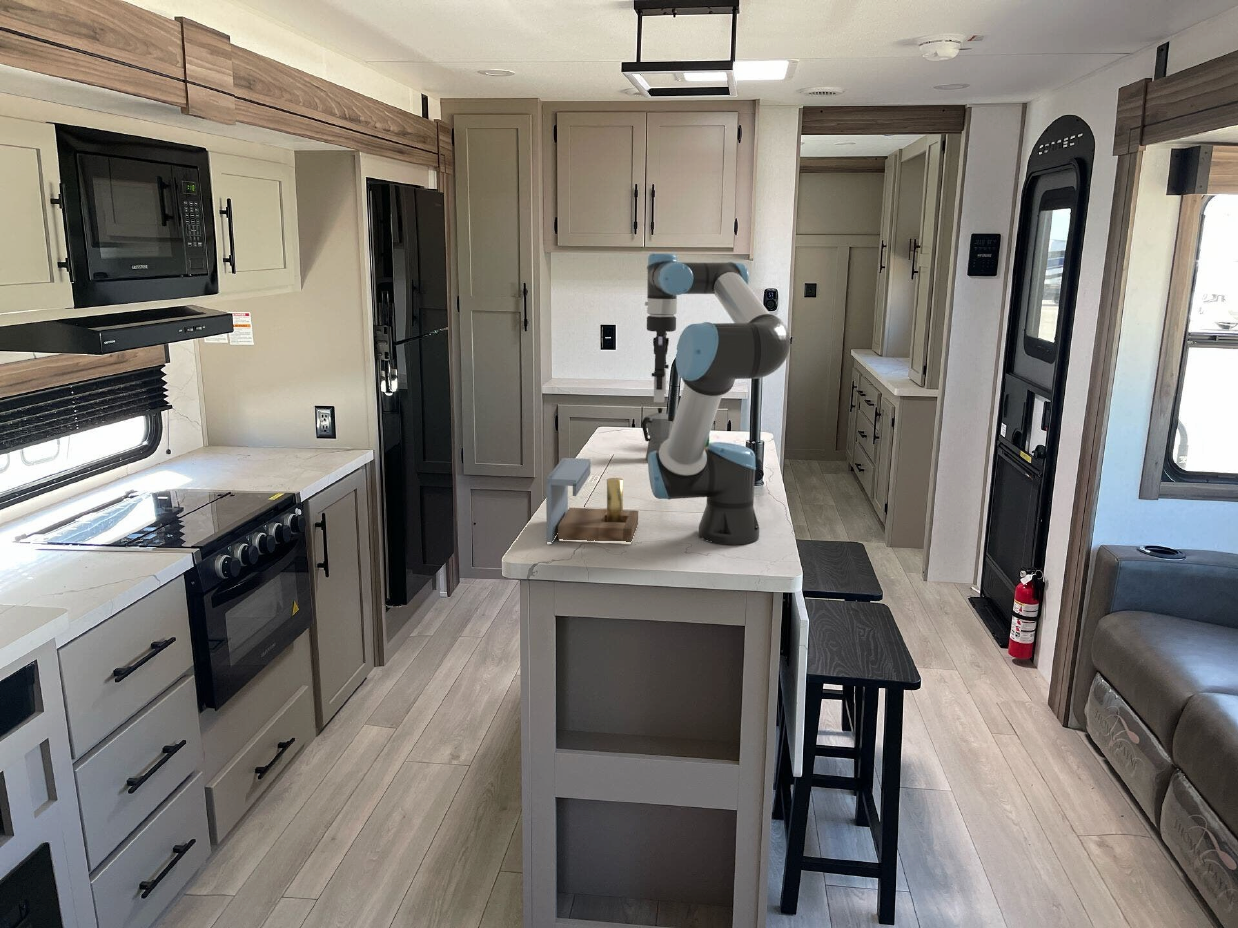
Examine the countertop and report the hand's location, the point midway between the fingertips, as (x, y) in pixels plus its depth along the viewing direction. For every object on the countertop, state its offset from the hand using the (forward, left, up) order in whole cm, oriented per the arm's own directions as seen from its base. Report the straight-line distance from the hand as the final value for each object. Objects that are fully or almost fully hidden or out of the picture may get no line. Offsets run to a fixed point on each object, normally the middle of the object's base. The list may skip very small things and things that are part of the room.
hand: (659, 397), depth 238 cm
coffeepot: (+57, -29, -32) cm, 72 cm away
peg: (-10, +17, -32) cm, 38 cm away
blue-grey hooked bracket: (-4, +27, -32) cm, 42 cm away
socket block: (-8, +20, -32) cm, 39 cm away
